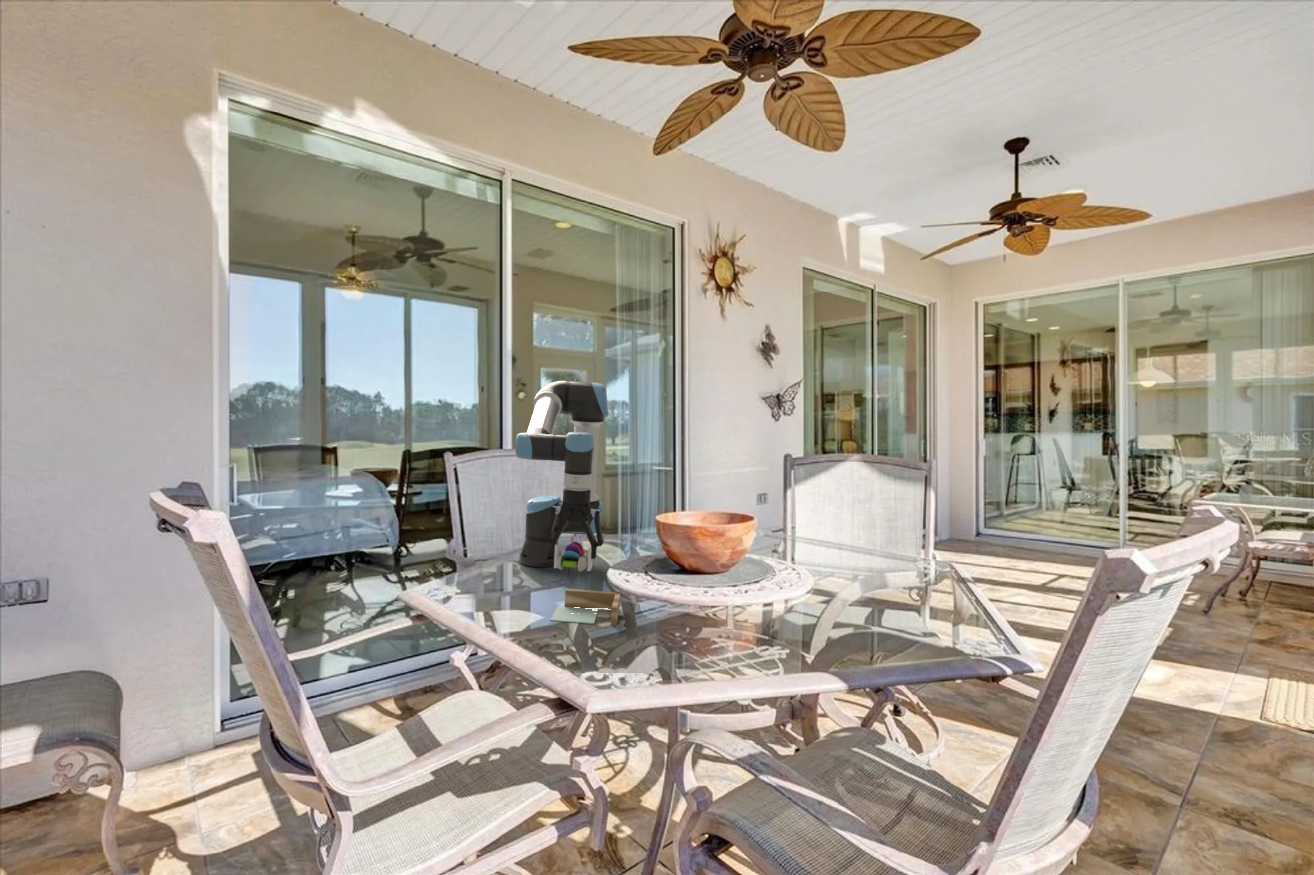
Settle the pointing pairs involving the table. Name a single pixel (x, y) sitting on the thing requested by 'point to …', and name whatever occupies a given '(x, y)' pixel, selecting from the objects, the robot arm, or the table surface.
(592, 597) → the wooden bracket
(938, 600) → the table surface
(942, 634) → the table surface
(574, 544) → the rainbow petal toy
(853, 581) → the table surface
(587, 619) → the pad
